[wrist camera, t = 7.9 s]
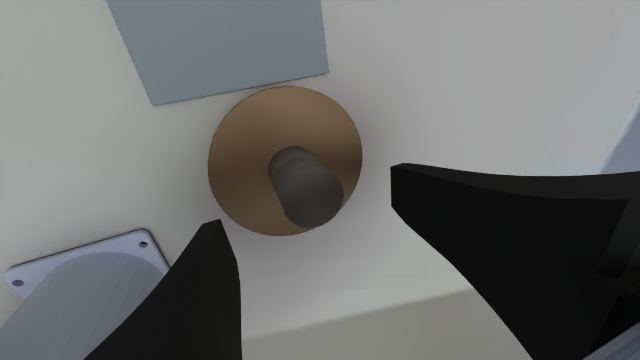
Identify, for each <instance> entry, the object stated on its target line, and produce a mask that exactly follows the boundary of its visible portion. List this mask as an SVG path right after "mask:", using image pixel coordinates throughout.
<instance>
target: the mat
mask: <svg viewBox="0 0 640 360" xmlns="http://www.w3.org/2000/svg"><path fill="white" fill-rule="evenodd" d="M106 1H107V3H108V6H109V8H110V10H111V13H112V15H113V17H114V19H115V22H116V24H117V26H118V29H119V31H120V33H121V35H122V38H123V40H124V42H125V45H126V47H127V49H128V51H129V54H130V56H131V58H132V61H133V63H134V65H135V67H136V70H137V72H138V74H139V77H140V79H141V81H142V83H143V86H144V88H145V90H146V93H147V95H148V97H149V99H150V102H151V104H152V106H155V105H160V104H165V103H171V102H176V101H181V100H187V99H192V98H197V97H203V96H208V95H213V94H219V93H224V92H229V91H235V90H240V89H245V88H250V87H256V86H261V85H266V84H272V83H277V82H282V81H288V80H293V79H298V78H304V77H309V76H314V75H320V74H325V73H329V68H328V60H327V52H326V44H325V36H324V28H323V20H322V12H321V4H320V0H106Z"/></svg>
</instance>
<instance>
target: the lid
mask: <svg viewBox="0 0 640 360" xmlns="http://www.w3.org/2000/svg"><path fill="white" fill-rule="evenodd" d="M361 167H362V146H361V140H360V137H359V133H358V131H357V128H356V126H355V124H354V122H353V121H352V119H351V118H350V116H349V115H348V113H347V112H346V111H345V110H344V109H343V108H342V107H341V106H340V105H339V104H338V103H337V102H335V101H334V100H332V99H331V98H329V97H328V96H326V95H324V94H322V93H319V92H317V91H314V90H310V89H307V88H301V87H294V86H282V87H274V88H270V89H266V90H262V91H260V92H257V93H255V94H253V95H251V96H249V97H247V98H246V99H244V100H243V101H241V102H240V103H238V104H237V105H236V106H235V107H234V108H233V109H231V111H230V112H229V113H228V114H227V115H226V116H225V117H224V119H223V120H222V122H221V123H220V125H219V126H218V128H217V130H216V132H215V134H214V136H213V139H212V143H211V146H210V150H209V157H208V177H209V183H210V186H211V189H212V192H213V195H214V197H215V199H216V201H217V202H218V204H219V205H220V207H221V208H222V210H223V211H224V212H225V213H226V214H227V215H228V216H229V217H230V218H231V219H232V220H234V221H235V222H236V223H238V224H239V225H241V226H243V227H244V228H246V229H249V230H251V231H253V232H257V233H260V234H264V235H271V236H288V235H295V234H299V233H303V232H306V231H309V230H311V229H314V228H316V227H318V226H321V225H323V224H325V223H327V222H329V221H330V220H331V219H332V218H333V217H334V216H335V215H336V214H337V213H338V211H339V210H340V209H341V208H342V207H343V206H344V205H345V203H346V202H347V201H348V199H349V198H350V196H351V195H352V193H353V191H354V189H355V187H356V185H357V182H358V179H359V176H360V172H361Z"/></svg>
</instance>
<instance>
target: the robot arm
mask: <svg viewBox="0 0 640 360" xmlns="http://www.w3.org/2000/svg"><path fill="white" fill-rule="evenodd" d="M391 207H392V208H393V209H394V210H395V212H396V213H397V214H398V215H399V216H400V217H401V219H402V220H403V221H404V222H405V223H406V224H407V225H408V226H409V227H410V228H411V229H413V230H414V231H415V232H416V233H417V234H418V235H419V236H421V237H422V238H423V239H424V240H425V241H426V242H427V243H429V244H430V245H431V246H432V247H433V248H434V249H436V250H437V251H438V252H439V253H440V254H441V255H442V256H444V257H445V258H446V259H447V260H448V261H449V262H450V263H451V264H452V265H453V266H454V267H455V268H456V269H457V270H458V271H459V272H460V273H461V274H462V275H463V276H464V277H465V278H466V280H467V281H468V282H469V283H470V284H471V285H472V286H473V287H474V288H475V289H476V290H477V292H478V293H479V294H480V295H481V296H482V297H483V298H484V299H485V301H486V302H487V303H488V304H489V305H490V306H491V307H492V309H493V310H494V311H495V312H496V314H497V315H498V316H499V317H500V318H501V319H502V321H503V322H504V323H505V325H506V326H507V327H508V328H509V329H510V331H511V332H512V333H513V334H514V336H515V337H516V338H517V339H518V341H519V342H520V343H521V345H522V346H523V347H524V348H525V350H526V351H527V352H528V354H529V355H530V356H531V358H532V359H533V360H640V171H637V172H626V173H616V174H602V175H583V176H514V175H497V174H486V173H477V172H469V171H461V170H454V169H447V168H441V167H434V166H427V165H420V164H411V163H401V164H398V165H395V166H392V167H391ZM143 241H144V242H147V243H148V244H145V245H144V244H142V243H141V242H143ZM1 278H2V279H3V281H4V282H5V283H6V284H7V285H8V286H9V287H10V288H11V289H12V290H13V291H14V292H15V293H16V294H17V295H18V296H19V297H20V298H21V299H22V300H23V301H24V302H23V303H22V304H21V305H20V307H19V308H18V309H17V310H16V311H15V312H14V314H13V315H12V316H11V317H10V318H9V319H8V321H7V322H6V323H5V324H4V325H3V326H2V327H1V329H0V360H242V348H241V294H240V279H239V272H238V266H237V260H236V258H235V255H234V253H233V250H232V248H231V245H230V242H229V240H228V237H227V235H226V232H225V230H224V227H223V225H222V222H221V220H220V219H217V220H214V221H211V222H208V223H204V224H202V226H201V227H200V228H199V230H198V231H197V232H196V234H195V235H194V237H193V238H192V240H191V241H190V243H189V244H188V245H187V247H186V248H185V250H184V251H183V252H182V254H181V255H180V256H179V258H178V259H177V261H176V262H175V263H174V264H173V266H172V267H171V268H170V269H169V267H168V265H167V264H166V262H165V260H164V258H163V257H162V255H161V253H160V251H159V250H158V248H157V246H156V244H155V243H154V241H153V239H152V237H151V236H150V234H149V233H148V232H147V231H145V230H137V231H134V232H130V233H127V234H123V235H120V236H117V237H113V238H110V239H106V240H103V241H100V242H96V243H93V244H89V245H86V246H83V247H79V248H76V249H72V250H69V251H66V252H62V253H59V254H55V255H52V256H49V257H45V258H42V259H38V260H35V261H32V262H28V263H25V264H21V265H18V266H15V267H11V268H9V269H7V270H6V271H5V272H4V273H3V274H2V276H1ZM18 280H21V281H23V282H19V281H18Z"/></svg>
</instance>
